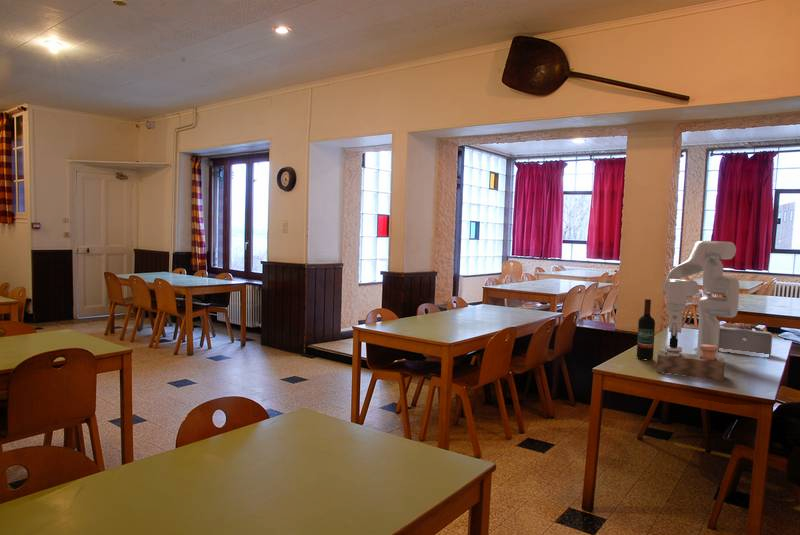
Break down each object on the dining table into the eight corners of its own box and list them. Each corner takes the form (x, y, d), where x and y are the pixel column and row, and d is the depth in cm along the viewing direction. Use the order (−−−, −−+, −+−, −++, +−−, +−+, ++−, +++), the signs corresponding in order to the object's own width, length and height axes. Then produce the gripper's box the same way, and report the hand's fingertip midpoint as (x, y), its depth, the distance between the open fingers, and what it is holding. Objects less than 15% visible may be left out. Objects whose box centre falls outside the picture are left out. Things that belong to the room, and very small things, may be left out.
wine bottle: (655, 358, 269) (658, 299, 266) (650, 361, 263) (653, 301, 261) (639, 356, 274) (642, 298, 272) (634, 358, 268) (637, 299, 266)
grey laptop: (771, 353, 287) (773, 330, 287) (770, 359, 275) (772, 335, 274) (717, 346, 302) (719, 324, 301) (714, 351, 289) (715, 328, 288)
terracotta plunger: (699, 365, 236) (700, 346, 235) (699, 362, 242) (700, 343, 241) (717, 367, 233) (718, 348, 232) (716, 364, 238) (717, 345, 238)
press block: (656, 372, 242) (657, 354, 242) (658, 367, 252) (659, 350, 251) (723, 381, 230) (724, 362, 229) (722, 375, 239) (723, 357, 239)
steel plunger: (663, 366, 243) (664, 347, 242) (664, 363, 249) (665, 344, 248) (680, 368, 239) (681, 349, 239) (681, 365, 245) (682, 346, 245)
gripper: (684, 310, 234) (682, 351, 235) (685, 306, 247) (683, 345, 248) (665, 308, 237) (663, 349, 239) (667, 304, 250) (665, 343, 252)
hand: (673, 347), depth 243 cm, fingers closed
